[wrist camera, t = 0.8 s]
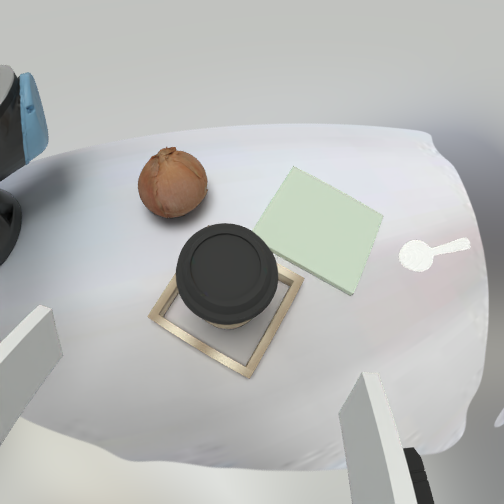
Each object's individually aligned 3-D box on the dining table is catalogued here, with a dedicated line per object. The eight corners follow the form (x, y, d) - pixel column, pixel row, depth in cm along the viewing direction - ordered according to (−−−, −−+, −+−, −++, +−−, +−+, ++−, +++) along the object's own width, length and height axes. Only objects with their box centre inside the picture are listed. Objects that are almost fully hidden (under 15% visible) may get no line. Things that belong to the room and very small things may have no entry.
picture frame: (152, 320, 37) (147, 316, 34) (209, 233, 41) (208, 225, 39) (248, 377, 35) (249, 378, 33) (300, 283, 40) (304, 278, 38)
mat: (248, 239, 42) (248, 236, 41) (292, 169, 47) (293, 166, 46) (350, 295, 40) (353, 293, 39) (380, 218, 45) (383, 215, 44)
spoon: (473, 256, 44) (474, 255, 44) (403, 277, 42) (405, 276, 41) (463, 230, 46) (464, 228, 46) (392, 244, 44) (394, 243, 43)
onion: (166, 194, 47) (148, 138, 40) (221, 193, 45) (208, 131, 38) (140, 233, 40) (113, 172, 33) (201, 235, 38) (180, 166, 31)
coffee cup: (245, 259, 41) (256, 200, 27) (273, 321, 38) (301, 293, 24) (181, 283, 39) (157, 235, 25) (207, 348, 36) (194, 337, 22)
